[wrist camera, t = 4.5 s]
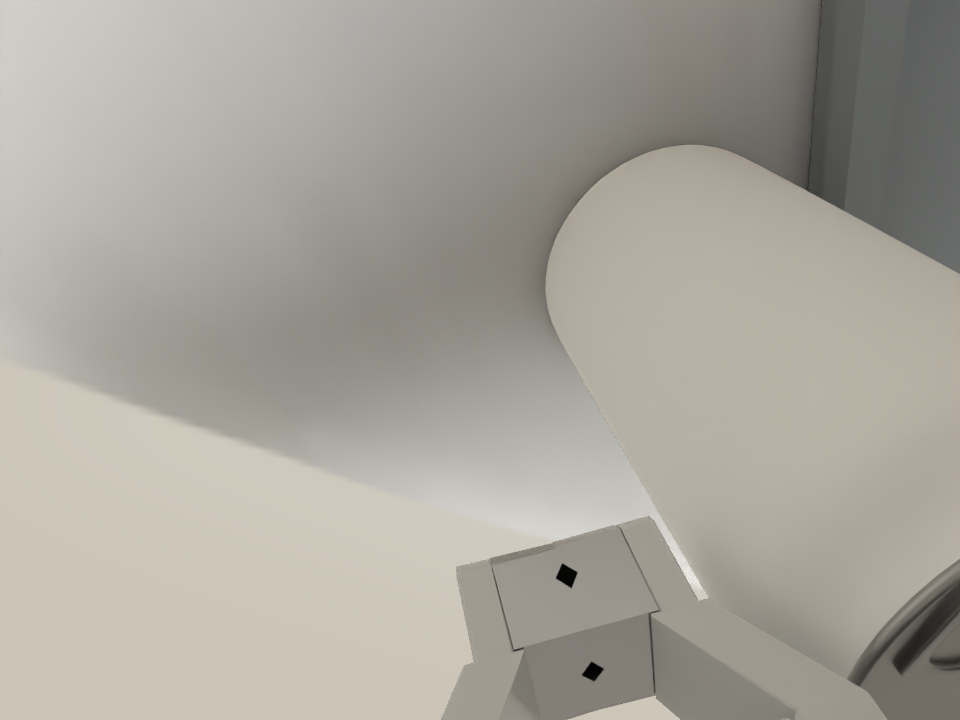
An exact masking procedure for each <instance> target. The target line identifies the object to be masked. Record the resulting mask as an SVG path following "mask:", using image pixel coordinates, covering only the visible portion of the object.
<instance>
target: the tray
mask: <svg viewBox="0 0 960 720" xmlns="http://www.w3.org/2000/svg"><path fill="white" fill-rule="evenodd" d="M808 192H810V193H812V194H814V195H816V196H817V197H819V198H821V199H823V200H825V201H827V202H828V203H830V204H832V205H834V206H836V207H838V208H839V209H841V210H843V211H845V212H847V213H849V214H851V215H852V216H854V217H856V218H858V219H860V220H862V221H863V222H865V223H867V224H869V225H871V226H873V227H875V228H876V229H878V230H880V231H882V232H884V233H886V234H887V235H889V236H891V237H893V238H895V239H897V240H898V241H900V242H902V243H904V244H906V245H908V246H909V247H911V248H913V249H915V250H917V251H919V252H920V253H922V254H924V255H926V256H928V257H930V258H931V259H933V260H935V261H937V262H939V263H941V264H942V265H944V266H946V267H948V268H950V269H951V270H953V271H955V272H957V273H959V274H960V0H822V9H821V23H820V36H819V50H818V64H817V77H816V91H815V104H814V118H813V132H812V145H811V159H810V173H809V186H808Z"/></svg>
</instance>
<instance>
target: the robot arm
mask: <svg viewBox="0 0 960 720" xmlns="http://www.w3.org/2000/svg"><path fill="white" fill-rule="evenodd" d="M490 562H491V564H490ZM491 567H492V568H491ZM456 573H457V581H458V586H459V591H460V595H461V600H462V605H463V611H464V615H465V620H466V625H467V630H468V635H469V640H470V645H471V650H472V655H473V660H474V663H470V664H468V665H464V667H463V670H462V672H461V674H460V677H459V679H458V681H457V683H456V686H455V688H454V690H453V693H452V695H451V697H450V700H449V702H448V704H447V707H446V709H445V711H444V714H443V716H442V719H441V720H567V719H570V718H573V717H577V716H580V715H583V714H586V713H589V712H593V711H596V710H599V709H603V708H607V707H611V706H615V705H619V704H623V703H627V702H631V701H635V700H639V699H643V698H646V697H651V696H655V695H656V699H657V700H659V701H660V702H661V703H662V704H663V705H664V706H666V707H667V708H668V709H669V710H670V711H671V712H673V713H674V714H675V715H676V716H677V717H679V718H680V719H681V720H887V718H886V717H885V715H884V714H883V713H882V711H881V710H880V708H879V707H878V705H877V704H876V703H875V701H874V700H873V698H872V697H871V696H870V694H869V693H868V692H867V691H865V690H864V689H862V688H860V687H859V686H857V685H855V684H853V683H852V682H850V681H848V680H847V679H845V678H843V677H842V676H840V675H838V674H836V673H835V672H833V671H831V670H830V669H828V668H826V667H825V666H823V665H821V664H819V663H818V662H816V661H814V660H813V659H811V658H809V657H807V656H806V655H804V654H802V653H801V652H799V651H797V650H796V649H794V648H792V647H790V646H789V645H787V644H785V643H784V642H782V641H780V640H779V639H777V638H775V637H773V636H772V635H770V634H768V633H767V632H765V631H763V630H761V629H760V628H758V627H756V626H755V625H753V624H751V623H750V622H748V621H746V620H744V619H743V618H741V617H739V616H738V615H736V614H734V613H733V612H731V611H729V610H727V609H726V608H724V607H722V606H721V605H719V604H717V603H715V602H714V601H712V600H710V599H709V598H708V599H704V600H700V601H698V599H697V597H696V595H695V594H694V592H693V590H692V588H691V586H690V584H689V583H688V581H687V579H686V577H685V575H684V574H683V572H682V570H681V568H680V566H679V565H678V563H677V561H676V559H675V557H674V556H673V554H672V552H671V550H670V548H669V547H668V545H667V543H666V541H665V539H664V538H663V536H662V534H661V532H660V530H659V529H658V527H657V525H656V523H655V521H654V520H653V519H651V518H650V517H649V516H648V517H644V518H640V519H636V520H633V521H629V522H625V523H622V524H618V525H617V526H615V525H613V526H609V527H606V528H602V529H599V530H595V531H591V532H588V533H584V534H581V535H577V536H573V537H570V538H566V539H563V540H559V541H555V542H553V543H551V544H547V545H543V546H539V547H535V548H531V549H526V550H522V551H518V552H514V553H510V554H506V555H501V556H497V557H493V558H490V561H489V559H486V560H482V561H479V562H474V563H470V564H466V565H462V566H458V567H456Z"/></svg>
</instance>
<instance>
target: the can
mask: <svg viewBox="0 0 960 720" xmlns="http://www.w3.org/2000/svg"><path fill="white" fill-rule="evenodd" d="M546 301H547V307H548V311H549V315H550V318H551V321H552V324H553V326H554V329H555V331H556V333H557V335H558V337H559V339H560V341H561V343H562V345H563V346H564V348H565V350H566V352H567V354H568V355H569V357H570V359H571V361H572V363H573V364H574V366H575V368H576V370H577V371H578V373H579V375H580V377H581V378H582V380H583V382H584V384H585V385H586V387H587V389H588V391H589V392H590V394H591V396H592V398H593V399H594V401H595V403H596V405H597V406H598V408H599V410H600V412H601V413H602V415H603V417H604V419H605V420H606V422H607V424H608V425H609V427H610V429H611V431H612V432H613V434H614V436H615V438H616V439H617V441H618V443H619V445H620V446H621V448H622V450H623V451H624V453H625V455H626V457H627V458H628V460H629V462H630V464H631V465H632V467H633V469H634V470H635V472H636V474H637V476H638V477H639V479H640V481H641V483H642V484H643V486H644V488H645V489H646V491H647V493H648V495H649V496H650V498H651V500H652V502H653V503H654V505H655V507H656V508H657V510H658V512H659V514H660V515H661V517H662V519H663V520H664V522H665V524H666V526H667V527H668V529H669V531H670V532H671V534H672V536H673V538H674V539H675V541H676V543H677V544H678V546H679V548H680V550H681V551H682V553H683V555H684V556H685V558H686V560H687V562H688V563H689V565H690V567H691V568H692V570H693V572H694V573H695V575H696V577H697V579H698V580H699V582H700V584H701V585H702V587H703V589H704V590H705V592H706V594H707V595H708V597H709V599H710V600H712V601H714V602H715V603H717V604H719V605H721V606H722V607H724V608H726V609H727V610H729V611H731V612H733V613H734V614H736V615H738V616H739V617H741V618H743V619H744V620H746V621H748V622H750V623H751V624H753V625H755V626H756V627H758V628H760V629H761V630H763V631H765V632H767V633H768V634H770V635H772V636H773V637H775V638H777V639H779V640H780V641H782V642H784V643H785V644H787V645H789V646H790V647H792V648H794V649H796V650H797V651H799V652H801V653H802V654H804V655H806V656H807V657H809V658H811V659H813V660H814V661H816V662H818V663H819V664H821V665H823V666H825V667H826V668H828V669H830V670H831V671H833V672H835V673H836V674H838V675H840V676H842V677H843V678H845V679H847V680H848V681H850V682H852V683H853V684H855V685H857V686H859V687H860V688H862V689H864V690H865V691H867V692H868V693H869V694H870V696H871V697H872V698H873V700H874V701H875V703H876V704H877V705H878V707H879V708H880V710H881V711H882V713H883V714H884V715H885V717H886V718H887V720H960V274H959V273H957V272H955V271H953V270H951V269H950V268H948V267H946V266H944V265H942V264H941V263H939V262H937V261H935V260H933V259H931V258H930V257H928V256H926V255H924V254H922V253H920V252H919V251H917V250H915V249H913V248H911V247H909V246H908V245H906V244H904V243H902V242H900V241H898V240H897V239H895V238H893V237H891V236H889V235H887V234H886V233H884V232H882V231H880V230H878V229H876V228H875V227H873V226H871V225H869V224H867V223H865V222H863V221H862V220H860V219H858V218H856V217H854V216H852V215H851V214H849V213H847V212H845V211H843V210H841V209H839V208H838V207H836V206H834V205H832V204H830V203H828V202H827V201H825V200H823V199H821V198H819V197H817V196H816V195H814V194H812V193H810V192H808V191H806V190H804V189H802V188H801V187H799V186H797V185H795V184H793V183H791V182H789V181H788V180H786V179H784V178H782V177H780V176H778V175H776V174H775V173H773V172H771V171H769V170H767V169H765V168H763V167H761V166H759V165H757V164H755V163H754V162H752V161H750V160H747V159H745V158H743V157H741V156H739V155H737V154H735V153H732V152H729V151H727V150H724V149H720V148H716V147H712V146H705V145H678V146H671V147H666V148H661V149H657V150H654V151H651V152H648V153H645V154H643V155H640V156H638V157H636V158H633V159H631V160H629V161H627V162H626V163H624V164H622V165H620V166H619V167H617V168H616V169H614V170H613V171H611V172H610V173H608V174H607V175H606V176H604V177H603V178H602V179H601V180H599V181H598V182H597V183H596V184H595V185H594V186H593V187H592V188H591V189H590V190H589V191H588V192H587V193H586V194H585V195H584V196H583V197H582V198H581V199H580V200H579V202H578V203H577V204H576V205H575V207H574V208H573V209H572V211H571V212H570V214H569V215H568V217H567V218H566V220H565V222H564V223H563V225H562V227H561V229H560V231H559V233H558V235H557V237H556V240H555V242H554V245H553V247H552V250H551V254H550V257H549V261H548V266H547V273H546Z"/></svg>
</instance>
